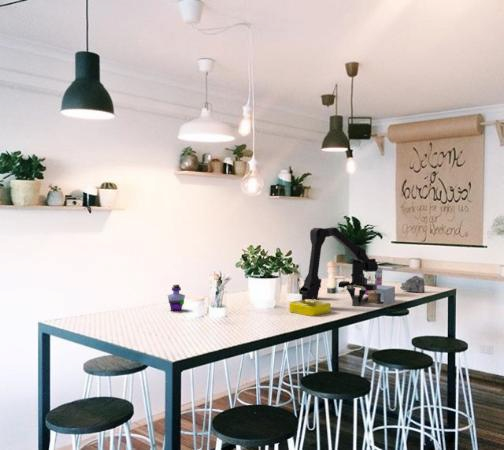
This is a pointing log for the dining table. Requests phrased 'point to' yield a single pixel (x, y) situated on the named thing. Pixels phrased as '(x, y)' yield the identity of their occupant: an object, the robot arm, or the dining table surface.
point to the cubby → (386, 293)
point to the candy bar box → (374, 279)
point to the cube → (374, 298)
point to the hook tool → (356, 300)
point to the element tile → (309, 307)
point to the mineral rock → (414, 285)
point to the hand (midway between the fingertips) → (357, 302)
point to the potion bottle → (176, 299)
